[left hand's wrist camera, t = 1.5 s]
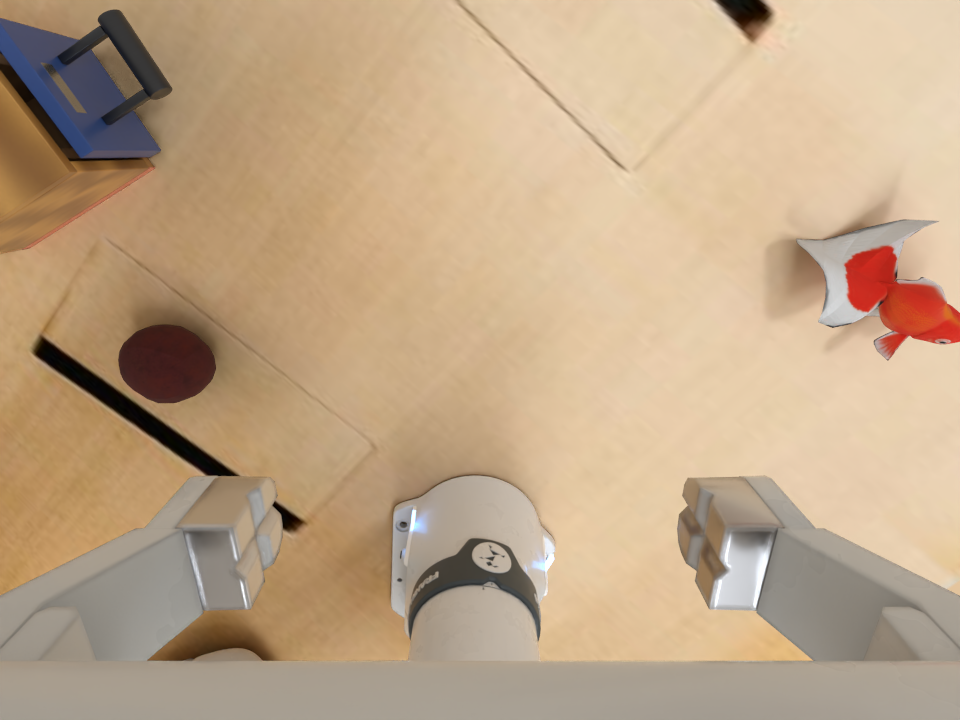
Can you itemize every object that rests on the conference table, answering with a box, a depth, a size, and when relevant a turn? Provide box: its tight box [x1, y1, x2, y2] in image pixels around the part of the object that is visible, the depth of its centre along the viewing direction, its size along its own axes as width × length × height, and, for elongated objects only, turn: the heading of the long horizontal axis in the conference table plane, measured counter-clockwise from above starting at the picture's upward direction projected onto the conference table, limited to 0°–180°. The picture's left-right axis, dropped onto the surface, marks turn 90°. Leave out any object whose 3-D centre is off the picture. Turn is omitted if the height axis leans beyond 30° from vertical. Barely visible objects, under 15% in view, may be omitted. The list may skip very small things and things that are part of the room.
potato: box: [118, 325, 216, 403], centre depth 49 cm, size 7×8×7 cm
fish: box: [796, 220, 960, 360], centre depth 46 cm, size 11×16×10 cm
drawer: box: [0, 10, 172, 161], centre depth 40 cm, size 19×9×8 cm, turn 118°
